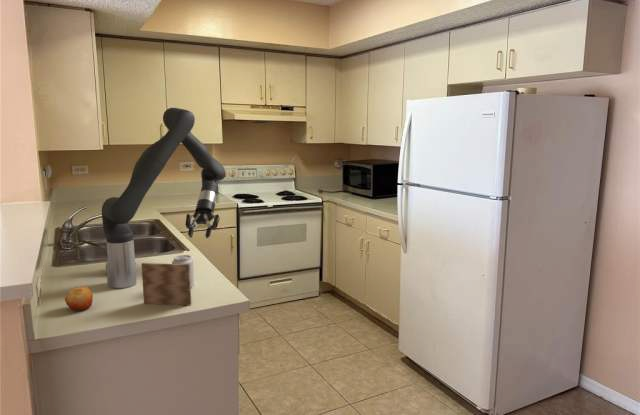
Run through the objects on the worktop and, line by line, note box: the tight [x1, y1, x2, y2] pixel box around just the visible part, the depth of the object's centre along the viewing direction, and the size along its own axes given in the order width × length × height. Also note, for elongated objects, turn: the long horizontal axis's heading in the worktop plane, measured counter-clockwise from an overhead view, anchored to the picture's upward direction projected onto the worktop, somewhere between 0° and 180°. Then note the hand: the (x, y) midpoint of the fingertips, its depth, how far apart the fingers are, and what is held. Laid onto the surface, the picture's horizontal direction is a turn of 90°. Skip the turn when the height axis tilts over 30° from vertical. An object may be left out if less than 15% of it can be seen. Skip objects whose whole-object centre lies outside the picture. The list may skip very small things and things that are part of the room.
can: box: [171, 254, 195, 289], centre depth 166 cm, size 8×8×12 cm
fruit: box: [64, 286, 94, 311], centre depth 148 cm, size 8×8×8 cm
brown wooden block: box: [141, 262, 192, 306], centre depth 153 cm, size 16×6×14 cm, turn 87°
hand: (198, 236), depth 182 cm, fingers open, 6 cm apart
